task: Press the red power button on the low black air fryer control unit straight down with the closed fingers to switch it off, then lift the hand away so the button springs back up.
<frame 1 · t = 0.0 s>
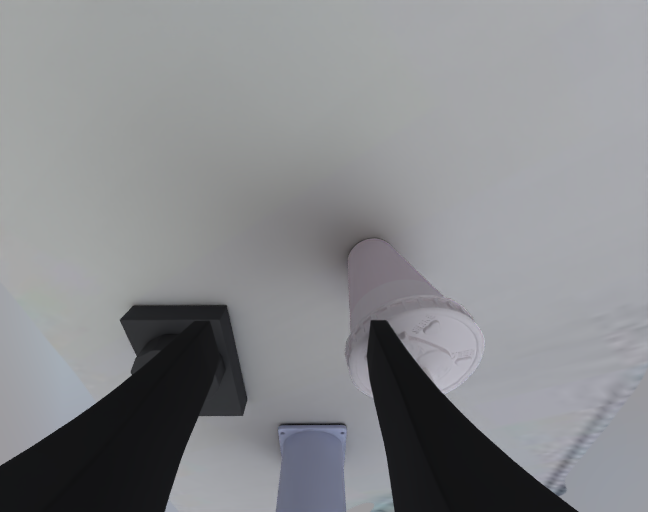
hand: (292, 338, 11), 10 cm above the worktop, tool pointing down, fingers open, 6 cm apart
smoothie: (370, 258, 21), on the worktop, touching gripper
air fryer panel: (197, 358, 26), on the worktop
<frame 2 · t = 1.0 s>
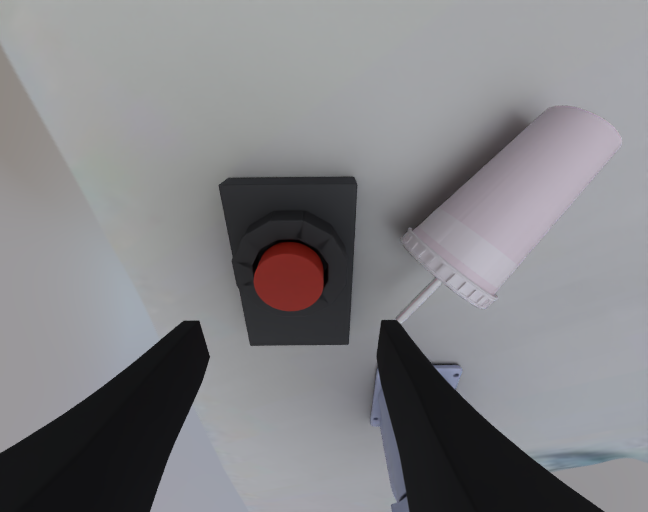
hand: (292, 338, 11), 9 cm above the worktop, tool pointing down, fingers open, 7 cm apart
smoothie: (582, 126, 13), point 3 cm above the worktop
air fryer panel: (296, 265, 20), on the worktop
power button: (290, 277, 16), point 4 cm above the worktop, slide at 0.1 cm
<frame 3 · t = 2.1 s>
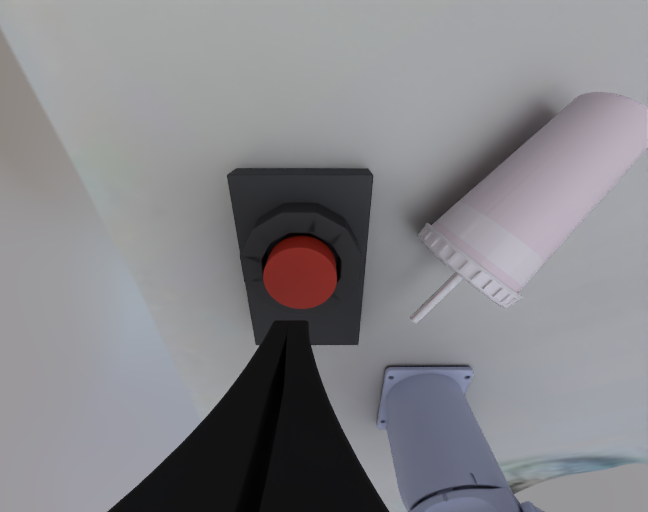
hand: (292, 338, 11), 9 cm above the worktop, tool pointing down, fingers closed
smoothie: (615, 115, 13), point 3 cm above the worktop
air fryer panel: (305, 261, 19), on the worktop
power button: (301, 272, 15), point 4 cm above the worktop, slide at 0.1 cm
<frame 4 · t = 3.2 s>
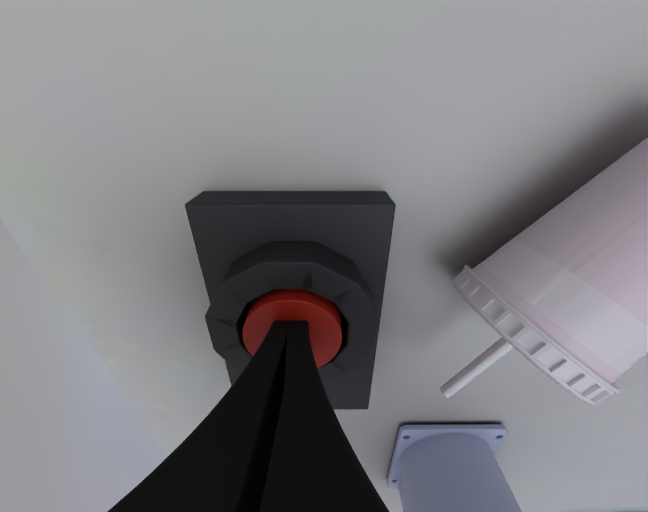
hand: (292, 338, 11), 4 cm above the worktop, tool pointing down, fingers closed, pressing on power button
air fryer panel: (300, 307, 15), on the worktop
power button: (294, 326, 11), point 3 cm above the worktop, slide at -0.8 cm, touching gripper
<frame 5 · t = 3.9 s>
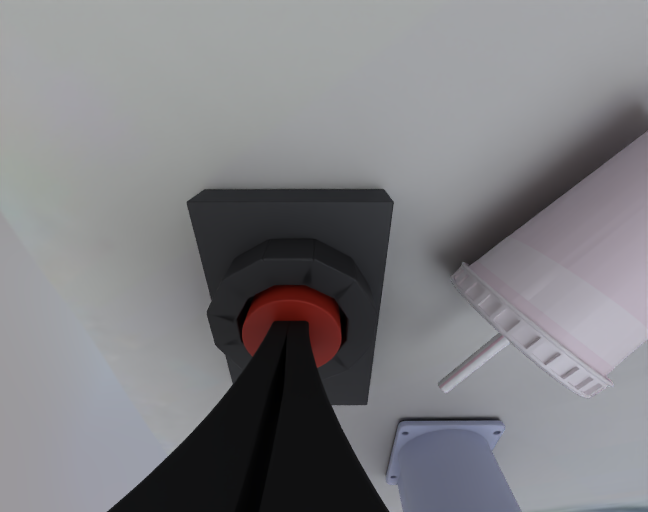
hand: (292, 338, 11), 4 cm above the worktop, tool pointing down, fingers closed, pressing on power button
air fryer panel: (300, 304, 15), on the worktop
power button: (293, 325, 11), point 3 cm above the worktop, slide at -0.5 cm, touching gripper
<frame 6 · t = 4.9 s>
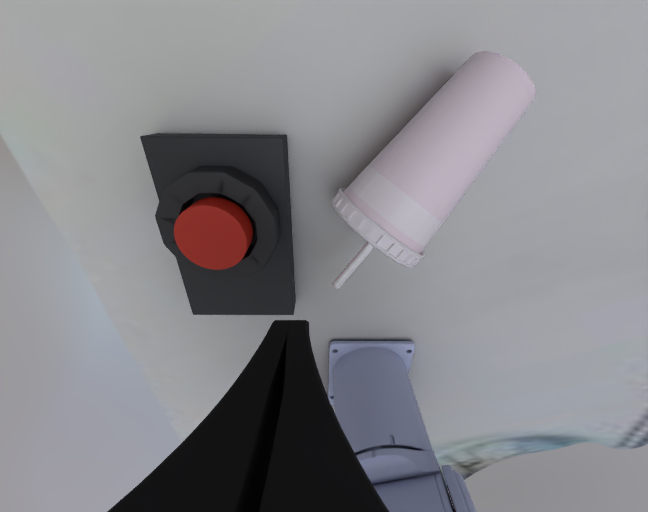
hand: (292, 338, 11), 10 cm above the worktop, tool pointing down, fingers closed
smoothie: (502, 76, 13), point 3 cm above the worktop
air fryer panel: (237, 230, 20), on the worktop
power button: (215, 234, 16), point 4 cm above the worktop, slide at 0.1 cm
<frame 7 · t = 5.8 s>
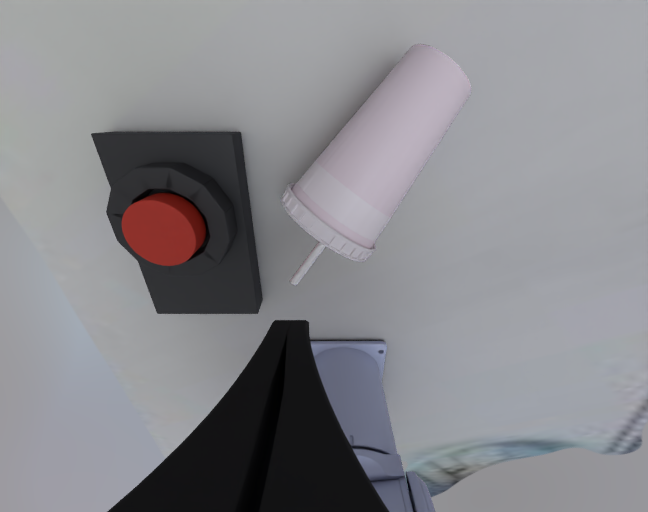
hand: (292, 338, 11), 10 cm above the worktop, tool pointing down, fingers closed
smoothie: (441, 69, 13), point 3 cm above the worktop
air fryer panel: (199, 228, 20), on the worktop
power button: (166, 229, 16), point 4 cm above the worktop, slide at 0.1 cm
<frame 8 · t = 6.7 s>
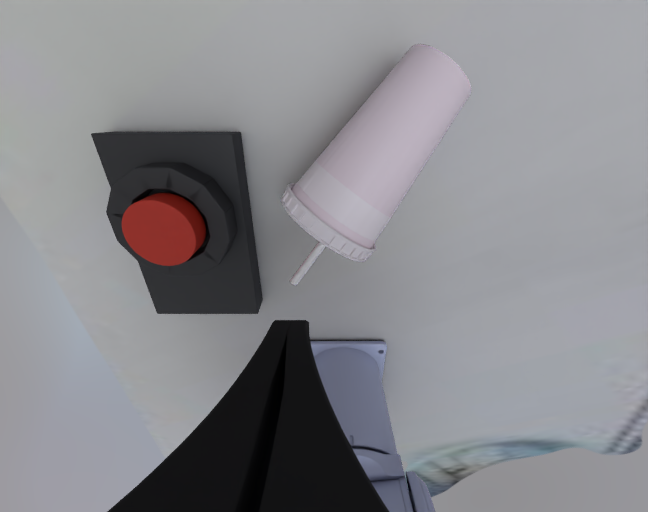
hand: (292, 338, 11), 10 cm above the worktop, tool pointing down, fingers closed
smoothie: (441, 69, 13), point 3 cm above the worktop
air fryer panel: (199, 228, 20), on the worktop
power button: (166, 229, 16), point 4 cm above the worktop, slide at 0.1 cm
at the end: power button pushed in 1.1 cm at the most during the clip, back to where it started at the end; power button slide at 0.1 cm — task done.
